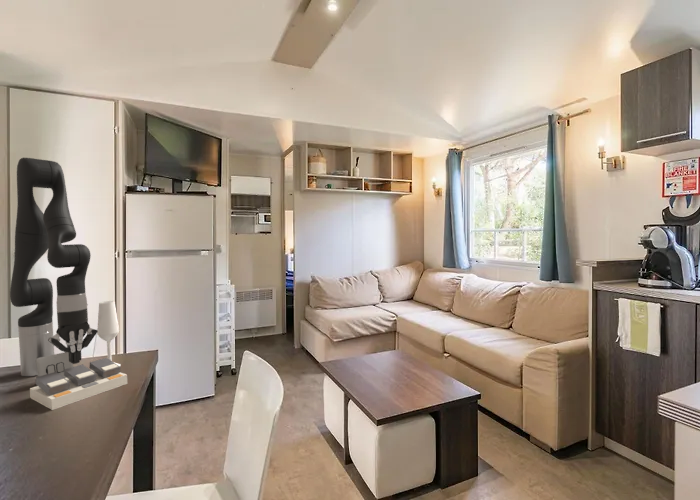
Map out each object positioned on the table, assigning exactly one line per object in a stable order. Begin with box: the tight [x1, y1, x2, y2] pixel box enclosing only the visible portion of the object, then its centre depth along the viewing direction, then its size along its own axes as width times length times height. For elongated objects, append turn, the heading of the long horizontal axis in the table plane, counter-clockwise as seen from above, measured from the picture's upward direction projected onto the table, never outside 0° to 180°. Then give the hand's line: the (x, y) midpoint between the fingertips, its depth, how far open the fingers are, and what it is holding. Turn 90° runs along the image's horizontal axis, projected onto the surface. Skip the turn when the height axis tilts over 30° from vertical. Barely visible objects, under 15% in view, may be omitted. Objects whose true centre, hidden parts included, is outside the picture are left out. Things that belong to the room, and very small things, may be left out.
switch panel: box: [29, 369, 129, 411], centre depth 112 cm, size 15×20×4 cm
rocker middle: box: [64, 364, 97, 386], centre depth 112 cm, size 9×5×2 cm, turn 60°
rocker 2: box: [88, 357, 121, 378], centre depth 118 cm, size 9×5×2 cm, turn 60°
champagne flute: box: [96, 300, 121, 367], centre depth 132 cm, size 7×7×24 cm
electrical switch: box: [36, 351, 74, 378], centre depth 120 cm, size 9×5×9 cm, turn 141°
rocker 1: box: [35, 372, 70, 395], centre depth 106 cm, size 9×5×2 cm, turn 60°
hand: (75, 362), depth 113 cm, fingers closed
